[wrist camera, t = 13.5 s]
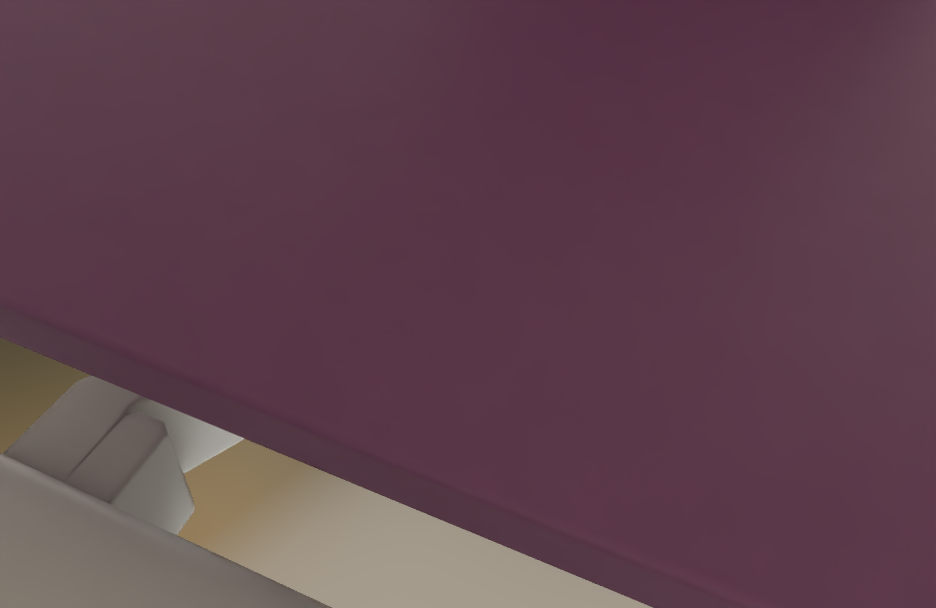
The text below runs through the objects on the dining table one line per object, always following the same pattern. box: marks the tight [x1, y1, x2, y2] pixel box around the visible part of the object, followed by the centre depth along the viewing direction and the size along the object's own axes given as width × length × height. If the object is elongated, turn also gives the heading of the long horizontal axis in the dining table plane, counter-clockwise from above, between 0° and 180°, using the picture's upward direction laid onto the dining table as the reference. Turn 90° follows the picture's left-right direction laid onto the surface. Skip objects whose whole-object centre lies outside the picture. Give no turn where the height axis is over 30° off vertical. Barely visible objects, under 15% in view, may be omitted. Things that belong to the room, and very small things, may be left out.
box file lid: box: [0, 0, 936, 608], centre depth 11 cm, size 18×14×5 cm
